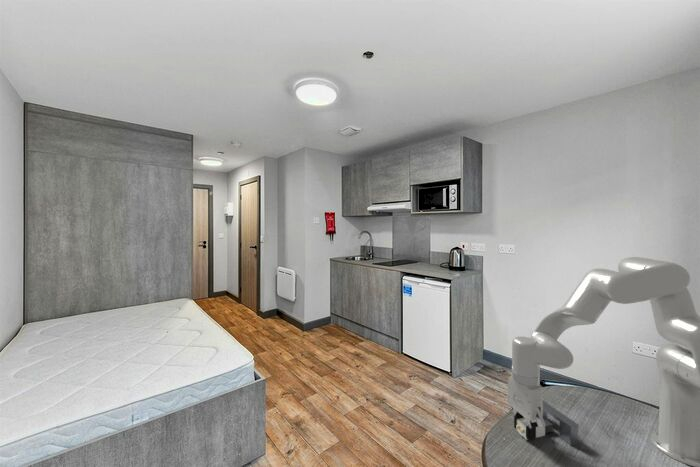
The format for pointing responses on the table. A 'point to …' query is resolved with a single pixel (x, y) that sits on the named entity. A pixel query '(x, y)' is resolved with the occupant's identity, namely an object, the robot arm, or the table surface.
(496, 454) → the table surface
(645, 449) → the table surface
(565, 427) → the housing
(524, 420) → the plug
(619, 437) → the table surface
